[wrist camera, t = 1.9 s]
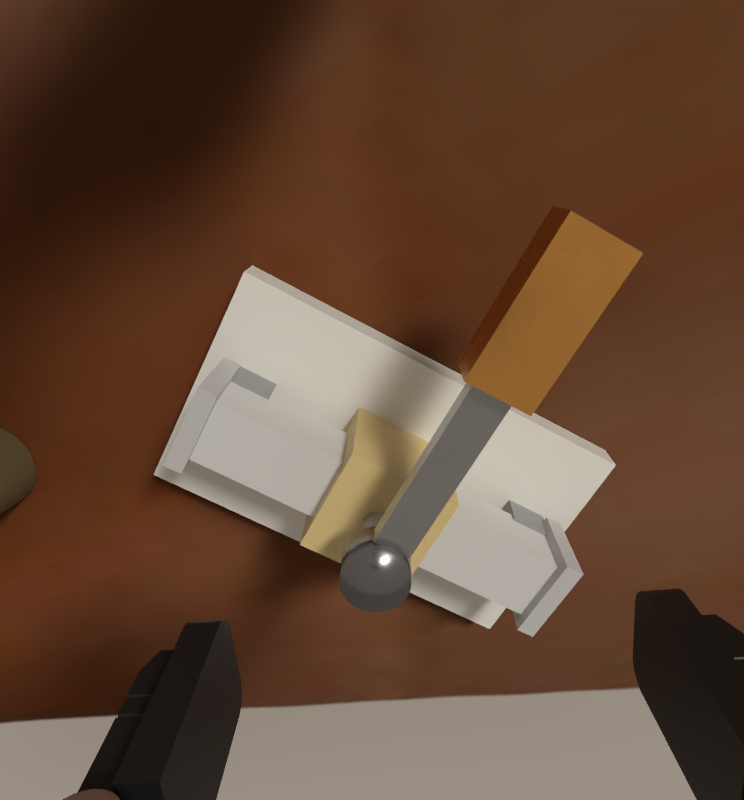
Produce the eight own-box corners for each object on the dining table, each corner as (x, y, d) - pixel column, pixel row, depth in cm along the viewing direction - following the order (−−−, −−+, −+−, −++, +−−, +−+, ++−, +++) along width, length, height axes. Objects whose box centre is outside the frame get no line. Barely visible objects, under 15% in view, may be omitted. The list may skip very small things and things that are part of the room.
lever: (331, 562, 29) (326, 597, 27) (550, 203, 23) (568, 209, 21) (390, 589, 30) (389, 626, 27) (620, 245, 24) (645, 254, 21)
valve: (164, 459, 39) (91, 555, 30) (252, 265, 34) (197, 305, 25) (485, 608, 43) (511, 737, 33) (605, 450, 38) (675, 546, 28)
